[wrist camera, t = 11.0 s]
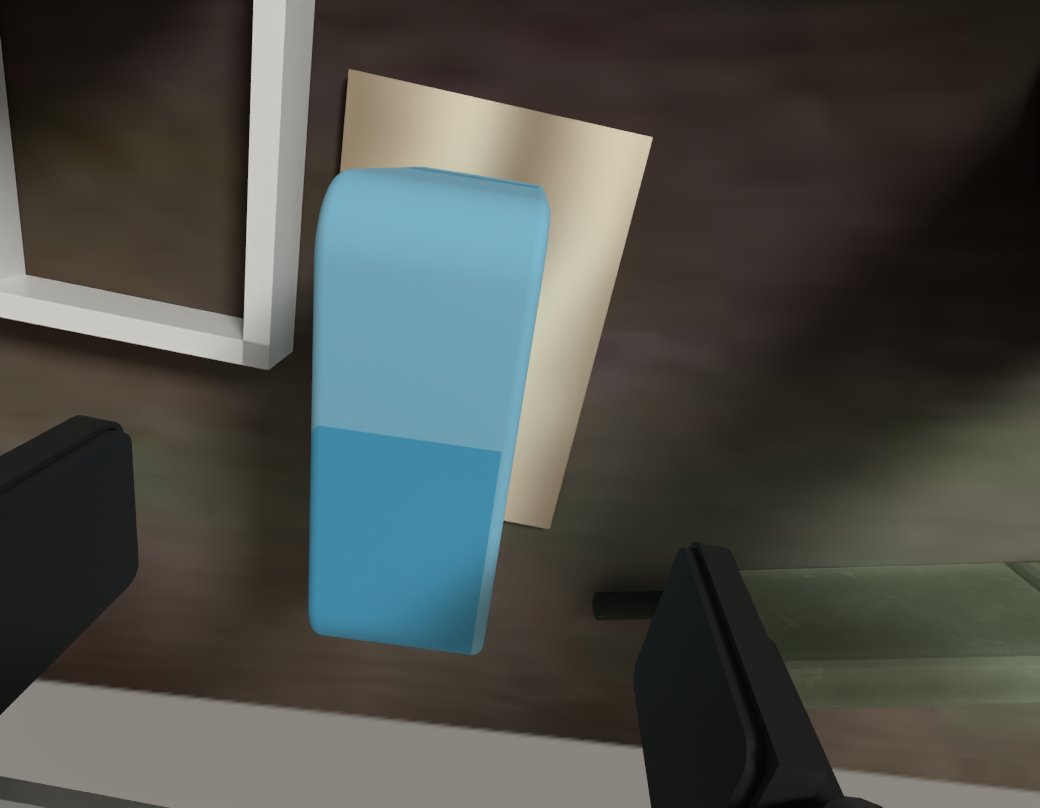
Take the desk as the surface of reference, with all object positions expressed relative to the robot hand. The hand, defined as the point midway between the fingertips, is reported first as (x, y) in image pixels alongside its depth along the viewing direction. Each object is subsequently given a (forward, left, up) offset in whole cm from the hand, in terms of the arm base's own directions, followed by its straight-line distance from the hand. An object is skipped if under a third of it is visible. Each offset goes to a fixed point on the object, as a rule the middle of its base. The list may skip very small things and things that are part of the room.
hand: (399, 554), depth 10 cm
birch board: (+1, 0, -16) cm, 16 cm away
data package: (0, 0, -16) cm, 15 cm away
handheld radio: (-20, +9, -16) cm, 27 cm away
